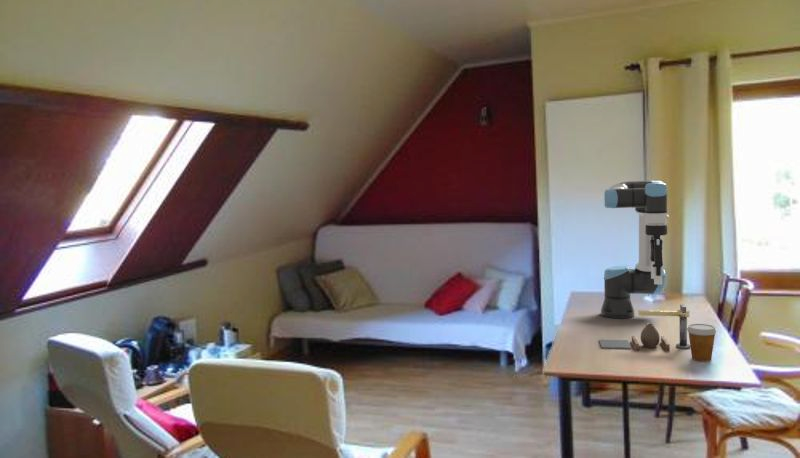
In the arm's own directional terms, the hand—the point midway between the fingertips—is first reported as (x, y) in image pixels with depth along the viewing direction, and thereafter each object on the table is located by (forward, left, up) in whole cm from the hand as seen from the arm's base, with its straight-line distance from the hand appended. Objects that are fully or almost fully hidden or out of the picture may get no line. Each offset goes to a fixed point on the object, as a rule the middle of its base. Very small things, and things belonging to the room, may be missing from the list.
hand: (656, 281), depth 230 cm
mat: (-8, -14, -27) cm, 32 cm away
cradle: (-7, -1, -27) cm, 28 cm away
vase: (-7, -1, -27) cm, 28 cm away
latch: (-7, +4, -15) cm, 17 cm away
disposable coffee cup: (+8, +14, -27) cm, 32 cm away
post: (-7, +11, -27) cm, 30 cm away
